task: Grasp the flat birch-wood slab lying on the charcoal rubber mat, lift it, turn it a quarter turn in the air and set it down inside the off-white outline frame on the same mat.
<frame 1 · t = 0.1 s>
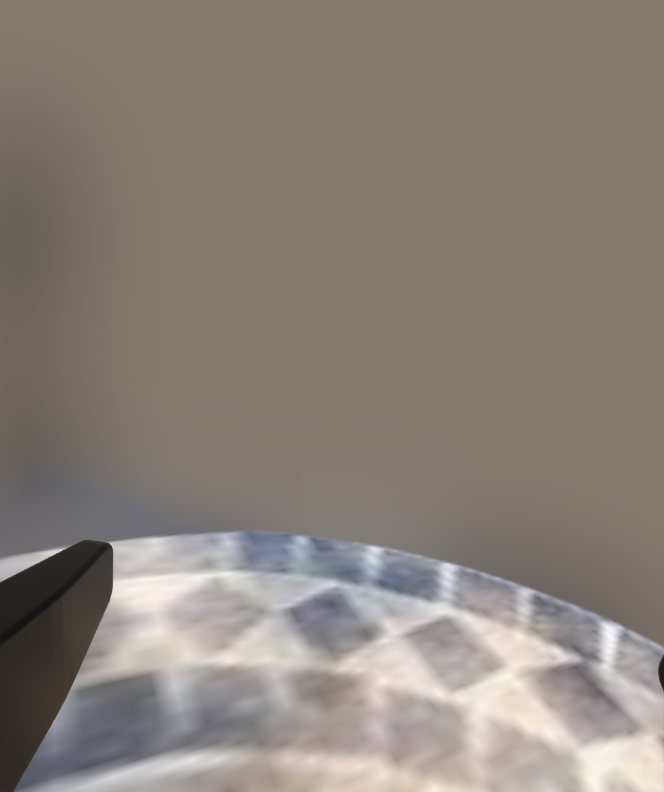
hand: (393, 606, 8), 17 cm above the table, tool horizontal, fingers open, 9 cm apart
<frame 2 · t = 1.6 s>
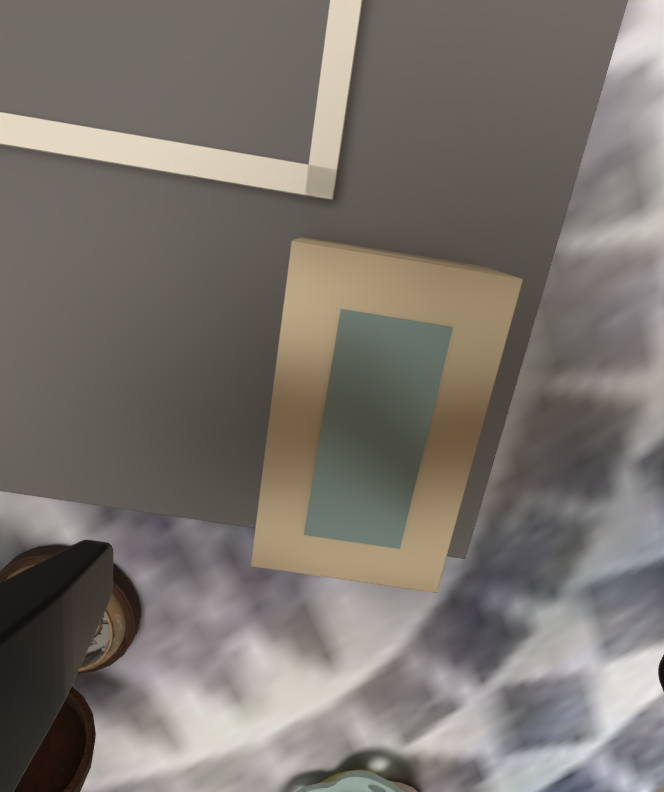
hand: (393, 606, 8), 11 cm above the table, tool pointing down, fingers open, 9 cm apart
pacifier: (354, 790, 26), on the table
compass: (50, 607, 22), on the table
slab: (367, 397, 18), point 1 cm above the table, touching mat
mat: (215, 188, 16), on the table
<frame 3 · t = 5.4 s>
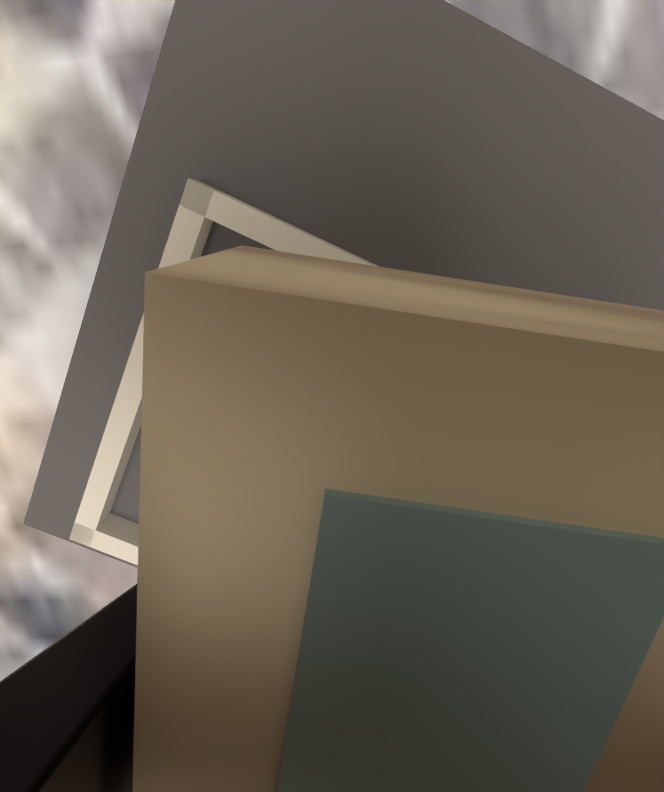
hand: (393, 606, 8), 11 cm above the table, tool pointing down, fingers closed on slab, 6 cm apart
slab: (392, 577, 9), point 11 cm above the table, touching gripper
mat: (420, 403, 19), on the table
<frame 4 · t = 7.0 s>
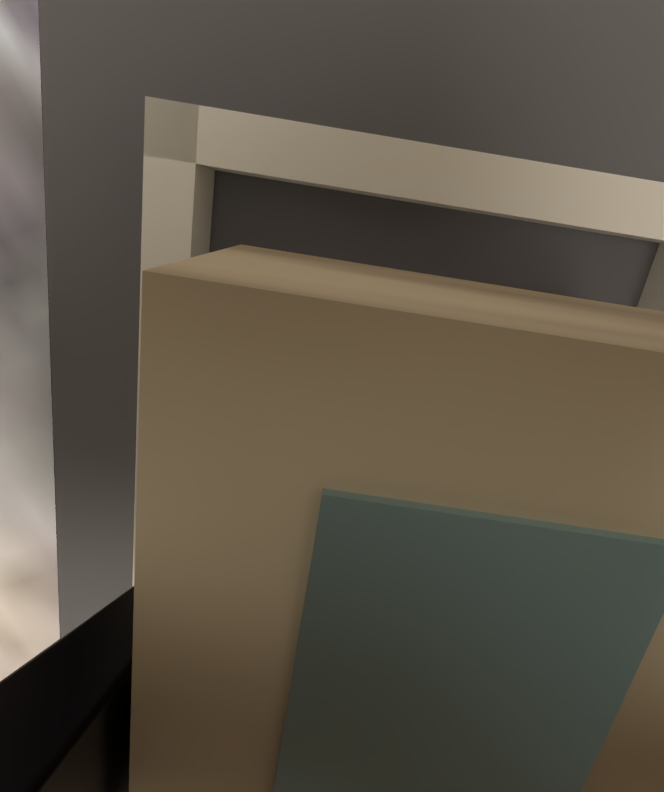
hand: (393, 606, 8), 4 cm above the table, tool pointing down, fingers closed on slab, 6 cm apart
slab: (390, 577, 9), point 3 cm above the table, touching gripper
mat: (637, 396, 11), on the table
when the fingers open (3 cm above the table, at t = 8.1 s): slab drops 2 cm, resting on mat.
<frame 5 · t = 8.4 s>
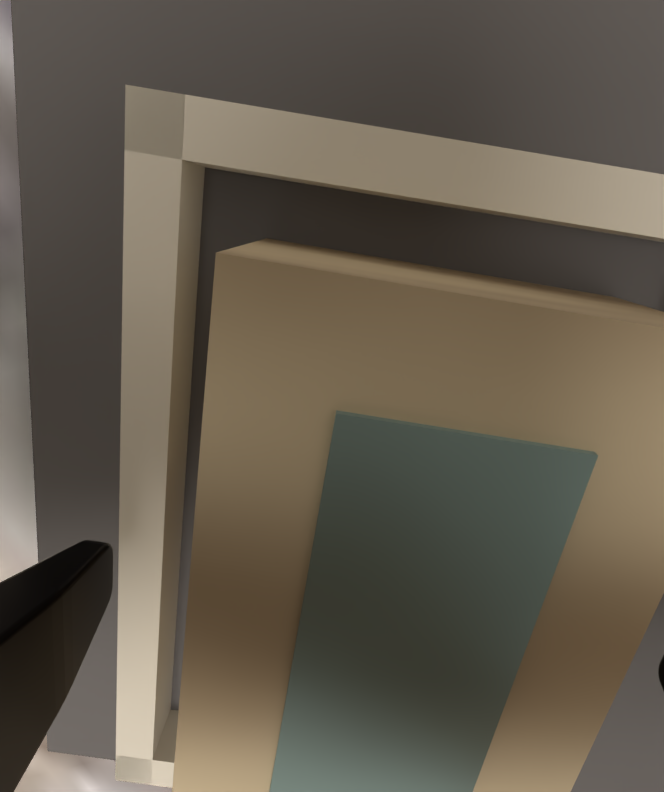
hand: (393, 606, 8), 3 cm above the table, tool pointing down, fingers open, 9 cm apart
slab: (385, 519, 10), point 1 cm above the table, touching mat
mat: (660, 410, 10), on the table
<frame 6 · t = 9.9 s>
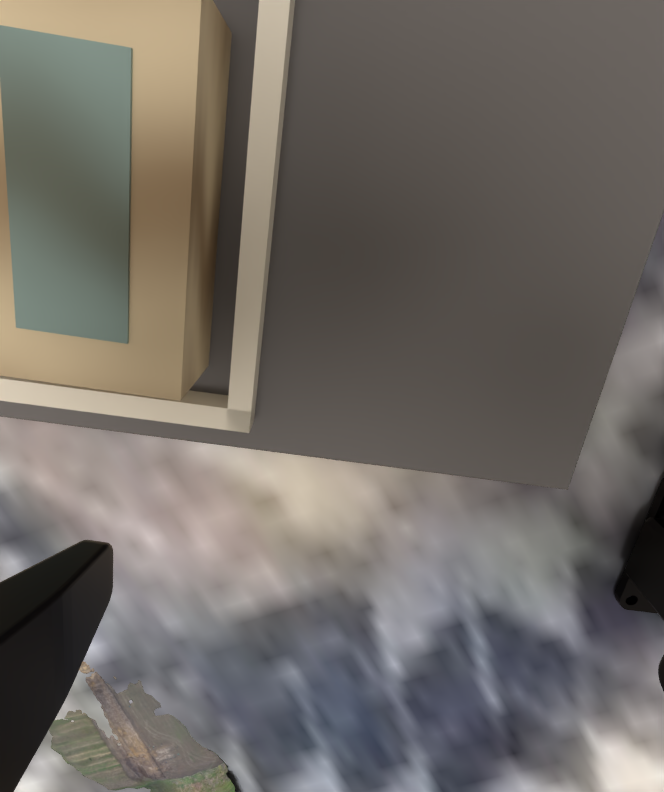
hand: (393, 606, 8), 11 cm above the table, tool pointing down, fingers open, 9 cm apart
slab: (123, 201, 16), point 1 cm above the table, touching mat
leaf: (91, 678, 25), on the table
mat: (291, 125, 16), on the table
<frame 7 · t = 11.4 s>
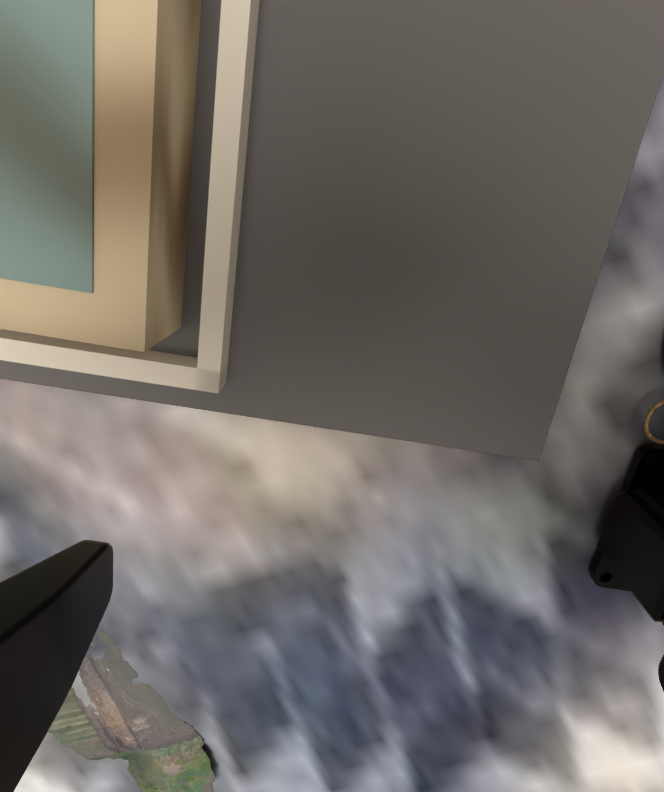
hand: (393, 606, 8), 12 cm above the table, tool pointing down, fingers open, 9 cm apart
slab: (98, 162, 17), point 1 cm above the table, touching mat
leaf: (70, 645, 25), on the table
mat: (261, 89, 16), on the table
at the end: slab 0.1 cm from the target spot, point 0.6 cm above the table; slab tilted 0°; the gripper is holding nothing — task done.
